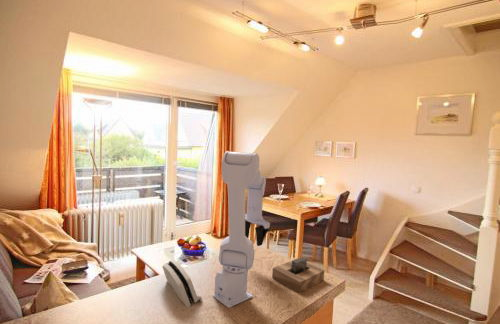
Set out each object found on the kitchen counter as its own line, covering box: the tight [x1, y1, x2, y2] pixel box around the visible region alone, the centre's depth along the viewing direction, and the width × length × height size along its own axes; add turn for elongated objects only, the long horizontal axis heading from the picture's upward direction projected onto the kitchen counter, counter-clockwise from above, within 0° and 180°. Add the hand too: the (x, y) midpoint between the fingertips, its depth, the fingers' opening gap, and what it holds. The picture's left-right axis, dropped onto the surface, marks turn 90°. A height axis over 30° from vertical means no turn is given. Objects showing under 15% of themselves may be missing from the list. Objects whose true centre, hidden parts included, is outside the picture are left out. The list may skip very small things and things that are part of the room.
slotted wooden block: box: [271, 259, 325, 293], centre depth 98 cm, size 14×12×4 cm
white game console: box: [161, 259, 204, 308], centre depth 84 cm, size 17×5×10 cm, turn 36°
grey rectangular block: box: [291, 256, 308, 275], centre depth 97 cm, size 6×2×7 cm, turn 133°
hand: (252, 242), depth 105 cm, fingers open, 7 cm apart
